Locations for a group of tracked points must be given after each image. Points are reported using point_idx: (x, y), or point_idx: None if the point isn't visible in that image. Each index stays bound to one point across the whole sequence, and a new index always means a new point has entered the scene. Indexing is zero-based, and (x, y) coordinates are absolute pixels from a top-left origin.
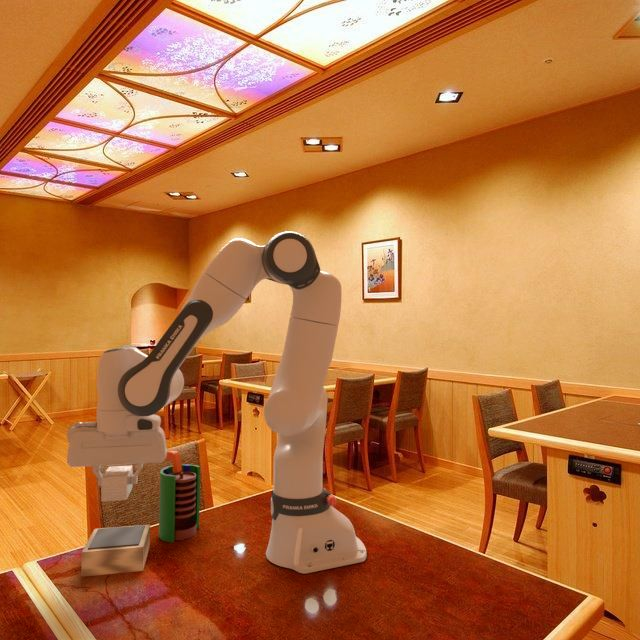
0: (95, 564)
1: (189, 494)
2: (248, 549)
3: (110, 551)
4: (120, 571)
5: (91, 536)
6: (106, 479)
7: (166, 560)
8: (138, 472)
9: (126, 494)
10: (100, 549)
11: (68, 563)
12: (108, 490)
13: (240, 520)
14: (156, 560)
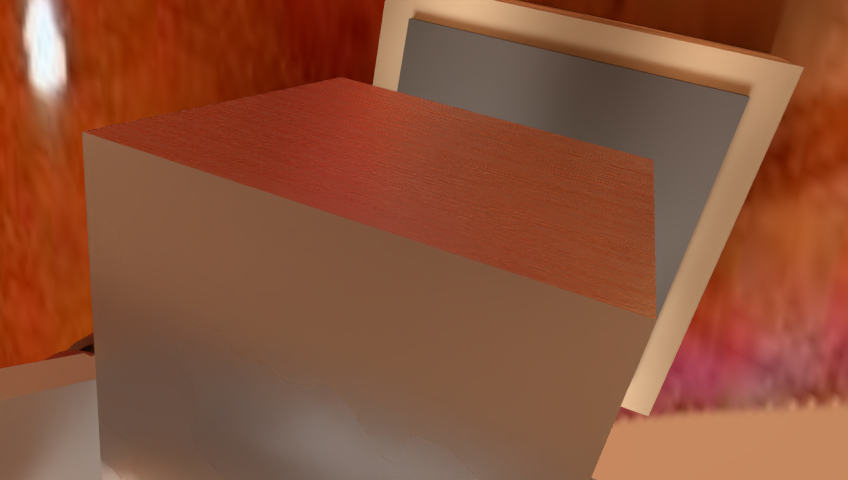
0: (692, 39)
1: (53, 356)
2: (14, 14)
3: (595, 21)
4: (551, 7)
5: (686, 309)
6: (530, 249)
7: (327, 60)
8: (17, 374)
9: (308, 87)
10: (660, 57)
11: (811, 266)
12: (532, 167)
13: (54, 307)
14: (370, 82)
